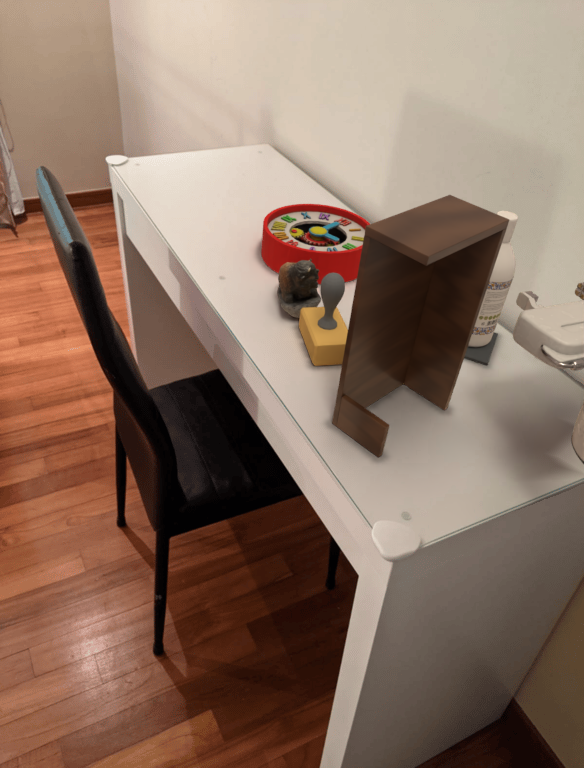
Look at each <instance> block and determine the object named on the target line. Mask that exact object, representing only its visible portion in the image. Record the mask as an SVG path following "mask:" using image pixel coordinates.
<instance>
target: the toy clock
mask: <svg viewBox="0 0 584 768" xmlns="http://www.w3.org/2000/svg"><path fill="white" fill-rule="evenodd" d="M370 224H371V223H370V222H369V221H368V220H367V219H366V218H365V217H362V216H361V215H359V214H357V213H355V212H353V211H350V210H347V209H344V208H342V207H341V208H340V207H337V206H332V205H328V204H319V203H296V204H288V205H284V206H281V207H277V208H276V209H273V210H271V211H270V212H268V213H267V214H266V216H264V217H263V222H262V233H261V234H262V236H261V249H260V250H261V251H260V252H261V259H262V261H263V262H264V264H265V265H266V266H267V267H268V268H269V269H270V270H272V271H273V272H275V273H277V274H278V275H279V271H280V268H281V266H282V265H283V264H285V263H287V262H290V263H297V262H299V261H301V260H307V261H309V260H310V259H312V261H311V262H312V263H313V264H314V265H315V268H316V269H318V270H319V273H318V276H319V279H318V280H317V282H318V285H321V281H322V279H323V278H324V277H325V276H326V275H327V274H329V273H338V274H340V275H341V276H342V277H343V279H344V281H345V283H348V282H351V281H355V280H357V275H358V269H359V263H360V257H361V252H362V246H363V240H364V235H365V229H366V226H367V225H370Z"/></svg>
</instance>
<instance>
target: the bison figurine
mask: <svg viewBox="0 0 584 768" xmlns="http://www.w3.org/2000/svg"><path fill="white" fill-rule="evenodd" d="M311 261H312V259H310V260H309V261H307V260H301V261H299V262H297V263H290V262H287V263H285V264H283V265H282V266H281V268H280V271H279V274H278V277H277V280H278V288H277V297H278V299H279V303H280V306H281V308H282V309H283V311H284V312H286V313H287V314H288V315H290V316H291V317H292V318H300V310H301V309H302V308H307V307H319V304H320V303H321V301H322V298H321V294H319V292H318V288H319V284H318V282H317V280H318V279H319V276H318V273H319V270H318V269H316V268H315V265H314V264H313V263H312V262H311Z"/></svg>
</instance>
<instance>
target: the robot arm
mask: <svg viewBox="0 0 584 768" xmlns="http://www.w3.org/2000/svg"><path fill="white" fill-rule="evenodd" d="M574 294H575V296H576V297H579V299H580V300H577V301H571V302H565V303H559V304H554V305H548V306H547V305H546V306H544V305H543V304H537V303H538V300H539V296H538V295H537V294H535V293H533V291H532V290H528V291H527V290H526V291H520V292H519V293H518V294H517V297H516V301H515V303H516V305H517V307H518V308H520V309H521V310H522V311H521V312H520V313H519V315H518V317H517V320H516V322H515V325H514V328H513V331H512V339H513V341H514V342H515V343H516V344H517V345H519V346H520V347H521V348H522V349H524V350H525V351H527V352H528V353H529V354H530V355H532V356H533V357H534V358H536V359H538V360H539V361H541V362H542V363H544V364H546V365H547V366H549V367H551V368H555V369H559V370H567V369H570V371H574V372H575V371H576V372H577V371H581V370H584V282H583V281H582V282H578V283H577V285H576V288H575V290H574ZM582 401H583V402H582V405H581V407H580V410H579V412H578V415H577V417H576V420H575V422H574V426H573V431H572V433H571V435H570V436H571V437H570V442H571V447H572V449H573V452H574V453H575V455H576V456H577V458H578V459H579V461H580V462H581V463H582V464H583V465H584V400H582Z"/></svg>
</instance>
